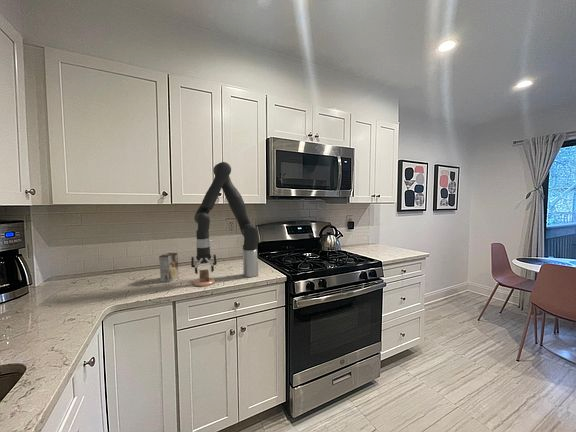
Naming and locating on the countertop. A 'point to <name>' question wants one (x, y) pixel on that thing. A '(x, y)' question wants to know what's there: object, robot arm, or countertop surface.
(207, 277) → the walnut block
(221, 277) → the countertop surface
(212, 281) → the dish
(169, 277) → the coffee box
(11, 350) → the countertop surface
